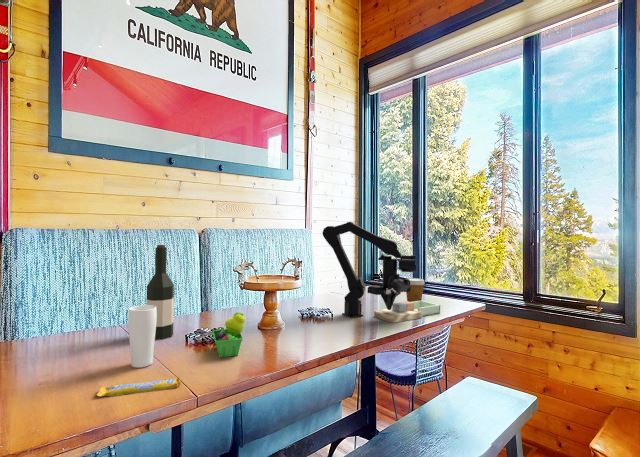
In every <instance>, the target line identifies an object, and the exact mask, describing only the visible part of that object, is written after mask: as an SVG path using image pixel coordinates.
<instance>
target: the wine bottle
mask: <svg viewBox="0 0 640 457" xmlns="http://www.w3.org/2000/svg"><path fill="white" fill-rule="evenodd" d="M156 245H157V246H156V247H155V248H154V249H155V250H154V251H155V254H154V255H155V256H154V257H155V261H154V262H155V263H154V271H155V272H154V274H153V275H152V277H151V279H150V280H149V282H148V283H147V285H146V305H153V306H156V308H157V323H156V333H155V341H160V340H165V339H170V338H172V336H173V335H174V316H175V315H174V314H175V313H174V310H175V308H174V307H175V305H174V303H175V302H174V301H175V300H174V298H175V284H174V283H173V281H172V279H171V278H170V275H168V273H167V255H168V254H167V247H166V244H156Z"/></svg>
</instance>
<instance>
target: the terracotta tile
mask: <svg viewBox="0 0 640 457" xmlns="http://www.w3.org/2000/svg"><path fill="white" fill-rule="evenodd" d="M400 302H401V303H404V304H407V311H412V310H414V303H412V302H408V301H407V300H406V301H400Z"/></svg>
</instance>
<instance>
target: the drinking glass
mask: <svg viewBox="0 0 640 457" xmlns="http://www.w3.org/2000/svg"><path fill="white" fill-rule="evenodd" d="M127 314H128V315H127V324H128V325H127V328H128V339H129V340H128V342H129V350H130V352H129V353H130V366H131V367H132V368H136V369H137V368H138V369H139V368H146V367H149V366H151V365H152V364H153V363H154V354H155V352H154V351H155V341H156V340H155V333H156V323H157V308H156V306H153V305H147V304H144V305H143V304H141V305H135V306H131V307H129V308H128V313H127Z"/></svg>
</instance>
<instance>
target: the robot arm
mask: <svg viewBox="0 0 640 457" xmlns="http://www.w3.org/2000/svg"><path fill="white" fill-rule="evenodd" d="M346 233H351V234H353V235H356V236H357V237H359V238H361V239H362V240H364V241H367V242H369V243H371V244H373V245H374V246H375V247H376V248H378V249H379V250H380V251H381V252H382V254H381V255H380V256H379V257H378V259H377V260H378V261H382V273H380V277H382V283H381V282H380V285H376V284H375V285H369V286H368V287H367V292H366V286H367V284H366V283H365V282H364V279H363V277H362V276H360V277H359V276H358V275H357V274H356V273H355V270H354V267H353V266H352V263H351V262H350V260H349V257H348V255H347V253H346V250H345V248H344V247H343V244H342V239H341V235H342V234H346ZM322 237H323V238H324V240H325V241H326V242H327V244H328V245H329V246H330V247H331V249H332V251H333V252H334V255H335V257H336V259H337V260H338V263H339V265H340V267H341V269H342V272H343V274H344V276H345V279H346V281H347V288H348V293H347V294H346V295H345V296H344V298H343V299H344V306H343V307H344V312H343V313H341V315H343V316H345V317H347V318H349V319H352V318H360V317H363V316H364V315H363V314H362V300H360V299H361V298H363V296H364V294H365V293H367V294H371V295H376V296H381V298H382V300H383V302H384V305H385V307H386V309H388V310H391V308H393V303H395V299H396V298H397V297H398V296H399V295H401V293H406V292H408V291H411V286H410V280H409V279H406V278H405V279H401V278H400V274H398V270H400V271H401V273H416V272H417V262H416V255H414V254H413V255H412V254H411V255H404V254H403V255H402V253H401V252H400V251H399V250H398V244H397V242H396V241H394V240H392V239H389V238H385V237H382V236H378V235H377V234H375V233H373V232H371V231H369V230H367V229H365V228H363V227H361V226H359V225H357V224H356V223H354V222H352V221H347V222H345V223H341V224H339V225H335V226H334V225H327V226H325V227H324V228H323V230H322ZM383 253H384V254H383ZM392 257H394V258H392Z"/></svg>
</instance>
